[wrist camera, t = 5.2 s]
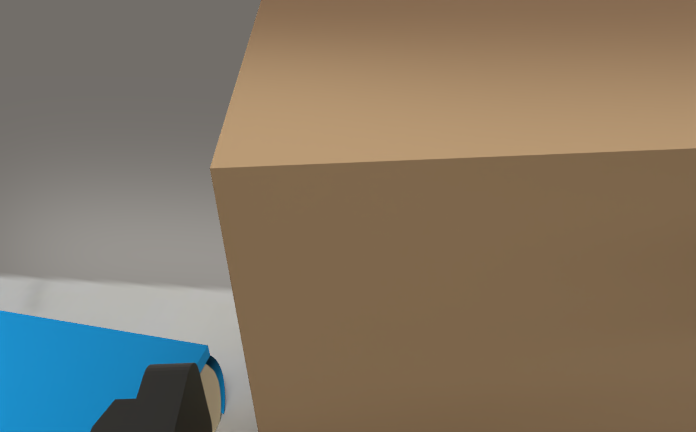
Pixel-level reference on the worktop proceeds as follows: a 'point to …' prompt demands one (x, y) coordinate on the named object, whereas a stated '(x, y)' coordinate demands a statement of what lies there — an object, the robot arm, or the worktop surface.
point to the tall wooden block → (465, 215)
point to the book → (84, 372)
